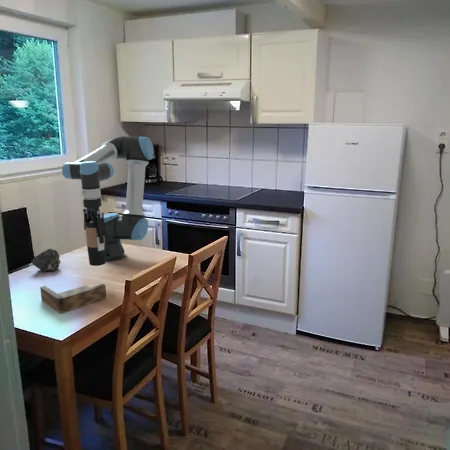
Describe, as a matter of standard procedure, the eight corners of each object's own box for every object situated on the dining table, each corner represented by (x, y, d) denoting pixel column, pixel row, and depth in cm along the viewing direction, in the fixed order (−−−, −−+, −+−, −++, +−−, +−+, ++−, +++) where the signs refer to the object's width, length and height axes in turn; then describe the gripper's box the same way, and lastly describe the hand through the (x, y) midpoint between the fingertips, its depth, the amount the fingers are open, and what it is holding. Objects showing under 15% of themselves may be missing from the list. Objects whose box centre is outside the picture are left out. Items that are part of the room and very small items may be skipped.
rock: (54, 258, 224) (50, 244, 217) (67, 267, 220) (63, 253, 213) (34, 273, 216) (29, 259, 209) (47, 282, 212) (43, 267, 205)
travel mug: (104, 259, 201) (101, 217, 196) (108, 264, 195) (104, 221, 189) (87, 261, 198) (83, 219, 193) (90, 267, 192) (86, 223, 186)
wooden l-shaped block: (86, 287, 194) (85, 274, 193) (106, 298, 183) (105, 285, 181) (41, 300, 181) (40, 287, 179) (60, 313, 169) (58, 299, 167)
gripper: (72, 195, 193) (77, 244, 199) (96, 202, 179) (100, 255, 185) (88, 193, 198) (92, 241, 204) (112, 199, 184) (116, 251, 190)
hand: (96, 247), depth 195 cm, fingers closed on travel mug, 8 cm apart
